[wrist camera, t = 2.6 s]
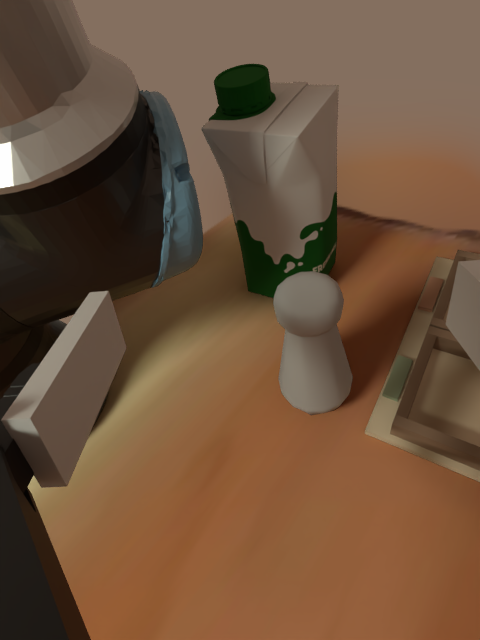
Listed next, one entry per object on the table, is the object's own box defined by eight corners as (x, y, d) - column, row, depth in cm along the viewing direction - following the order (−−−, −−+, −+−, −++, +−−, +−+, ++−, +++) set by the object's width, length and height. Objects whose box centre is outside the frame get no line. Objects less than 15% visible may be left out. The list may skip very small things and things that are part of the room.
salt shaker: (291, 359, 37) (273, 252, 27) (355, 369, 35) (362, 258, 25) (274, 417, 34) (247, 319, 24) (345, 432, 32) (347, 332, 22)
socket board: (364, 433, 31) (366, 420, 29) (435, 260, 41) (440, 242, 39) (537, 506, 26) (552, 495, 24) (571, 289, 36) (584, 270, 34)
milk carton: (272, 243, 47) (241, 50, 32) (347, 258, 43) (352, 48, 28) (236, 295, 43) (181, 102, 28) (316, 318, 39) (302, 108, 24)
